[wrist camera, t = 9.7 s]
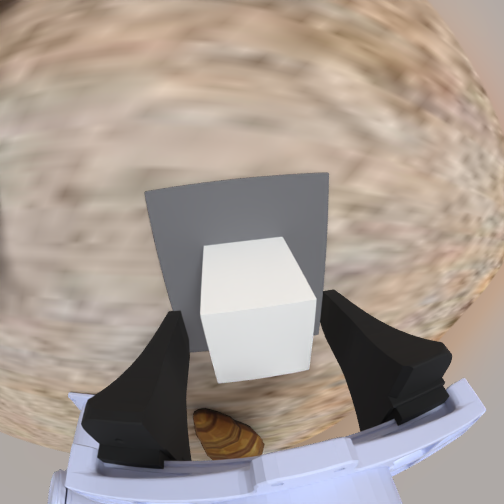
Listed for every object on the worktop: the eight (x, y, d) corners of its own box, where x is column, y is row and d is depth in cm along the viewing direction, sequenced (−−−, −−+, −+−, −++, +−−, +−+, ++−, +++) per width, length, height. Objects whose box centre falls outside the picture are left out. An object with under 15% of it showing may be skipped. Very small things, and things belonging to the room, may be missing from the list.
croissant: (170, 411, 24) (168, 452, 19) (227, 395, 23) (231, 441, 19) (232, 449, 30) (236, 480, 25) (278, 437, 29) (285, 468, 25)
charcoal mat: (317, 332, 20) (318, 334, 20) (186, 350, 19) (186, 352, 19) (327, 172, 14) (328, 173, 14) (145, 191, 14) (144, 192, 13)
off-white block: (283, 299, 18) (309, 369, 12) (214, 308, 17) (218, 383, 12) (282, 236, 16) (316, 299, 10) (203, 245, 15) (200, 315, 10)
